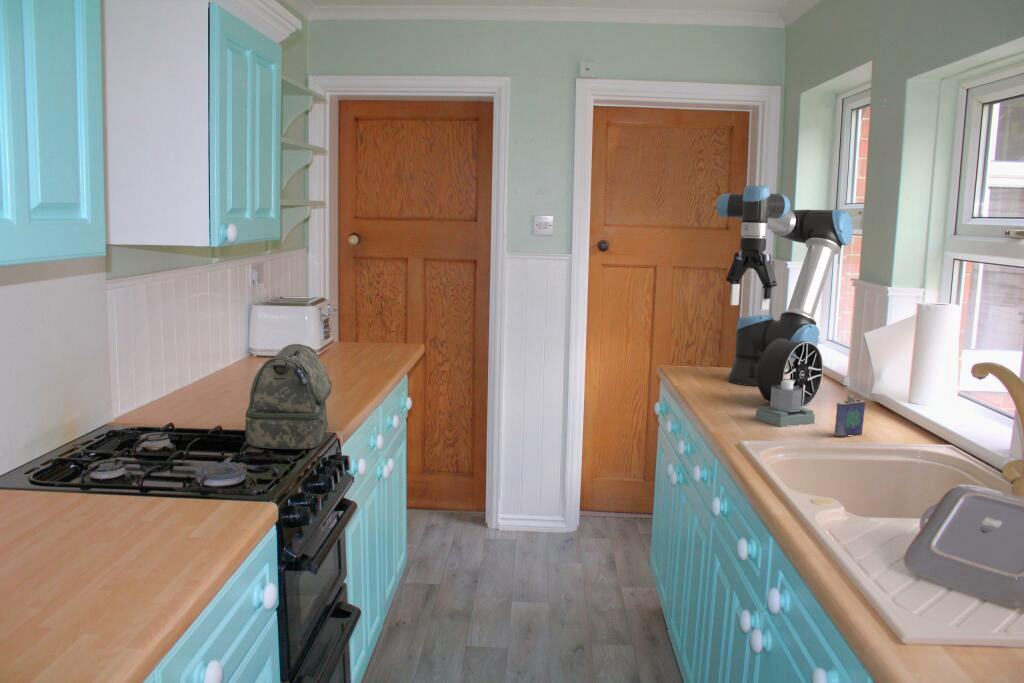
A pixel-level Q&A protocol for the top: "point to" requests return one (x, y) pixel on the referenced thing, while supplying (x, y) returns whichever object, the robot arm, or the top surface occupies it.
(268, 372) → the lunch bag
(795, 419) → the shaft block
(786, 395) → the block
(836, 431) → the flask
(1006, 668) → the top surface
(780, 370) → the wheel rim
